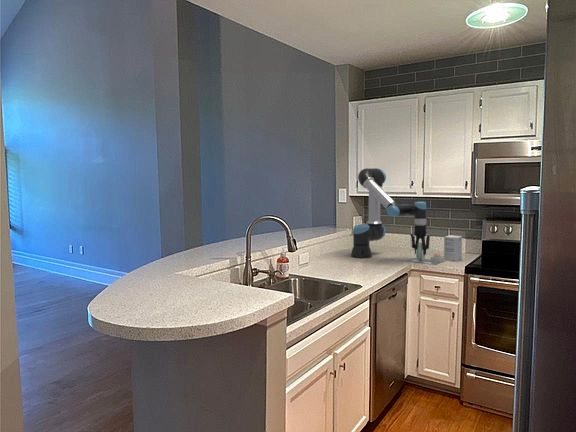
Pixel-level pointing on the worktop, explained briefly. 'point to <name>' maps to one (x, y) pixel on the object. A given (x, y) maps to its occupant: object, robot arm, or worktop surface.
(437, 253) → the button
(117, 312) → the worktop surface
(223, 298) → the worktop surface
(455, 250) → the supplement box
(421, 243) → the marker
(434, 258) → the button panel board
